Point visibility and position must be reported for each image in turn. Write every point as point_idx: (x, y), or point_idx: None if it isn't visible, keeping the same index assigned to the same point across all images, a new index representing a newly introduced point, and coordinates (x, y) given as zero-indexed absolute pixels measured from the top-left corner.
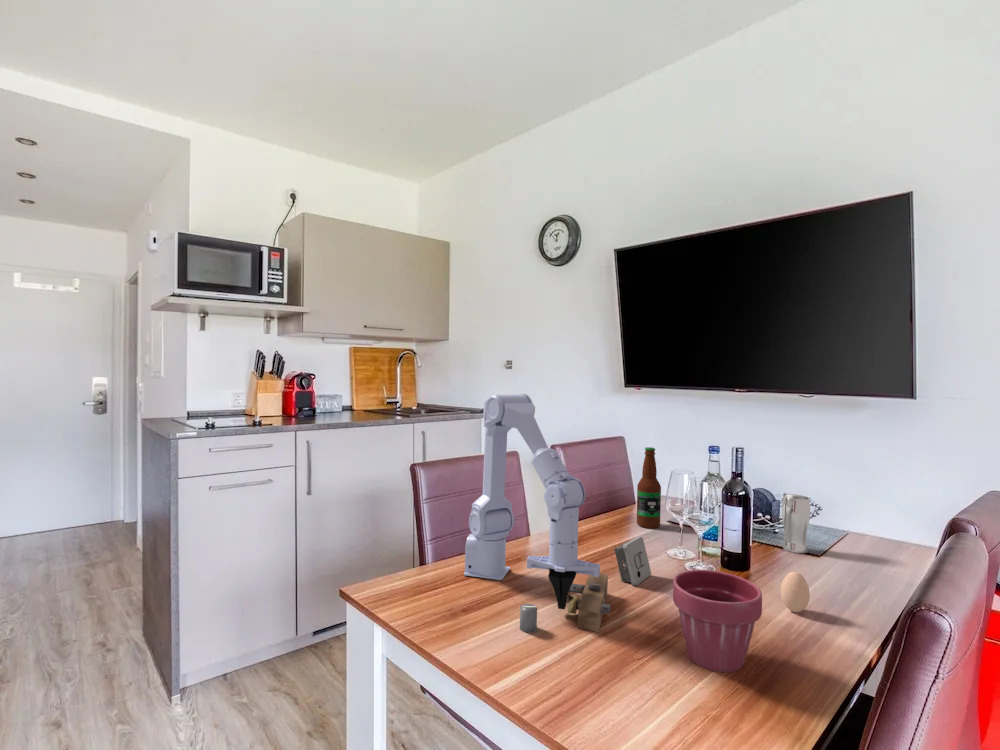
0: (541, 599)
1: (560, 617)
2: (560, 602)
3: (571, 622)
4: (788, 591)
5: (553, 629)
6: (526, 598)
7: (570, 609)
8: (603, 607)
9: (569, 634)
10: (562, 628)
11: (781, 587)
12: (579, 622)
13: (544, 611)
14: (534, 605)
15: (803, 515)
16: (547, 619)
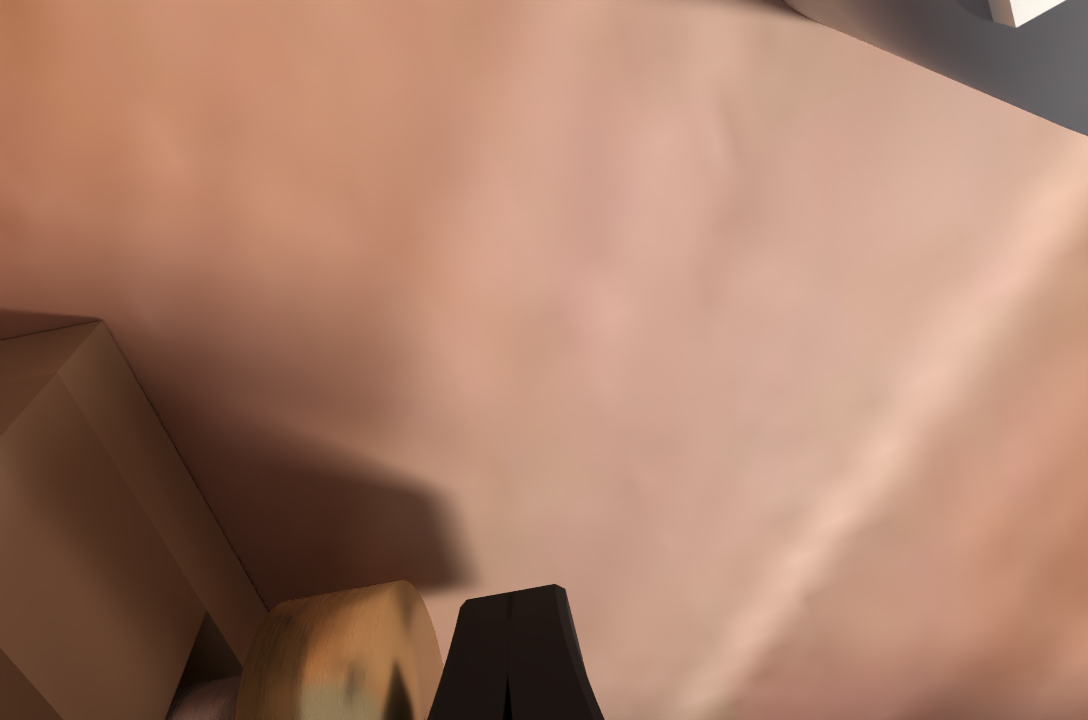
0: (870, 715)
1: (504, 483)
2: (518, 673)
3: (298, 436)
4: None
5: (434, 80)
6: (1052, 666)
7: (335, 616)
8: None
9: (83, 48)
10: (315, 199)
11: None
12: (28, 382)
13: (765, 519)
14: (1074, 104)
15: None
16: (656, 349)
